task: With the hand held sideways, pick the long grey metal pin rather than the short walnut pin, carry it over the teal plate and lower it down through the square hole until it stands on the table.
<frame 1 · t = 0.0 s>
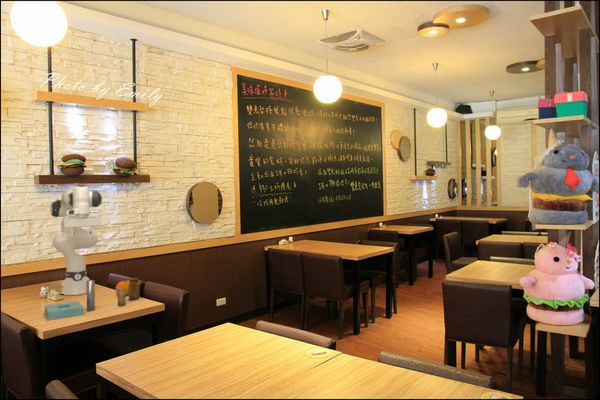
hand: (82, 234, 261), 39 cm above the table, tool pointing down, fingers open, 8 cm apart
long pin: (90, 310, 239), on the table
hole plate: (63, 314, 232), on the table
short pin: (121, 305, 249), on the table
condiment: (134, 299, 263), on the table
fruit: (125, 295, 275), on the table
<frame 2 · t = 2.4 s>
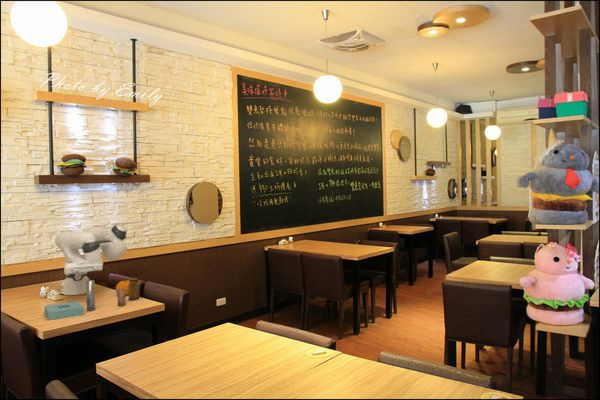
hand: (86, 270, 250), 20 cm above the table, tool horizontal, fingers open, 8 cm apart
nothing on the table moved.
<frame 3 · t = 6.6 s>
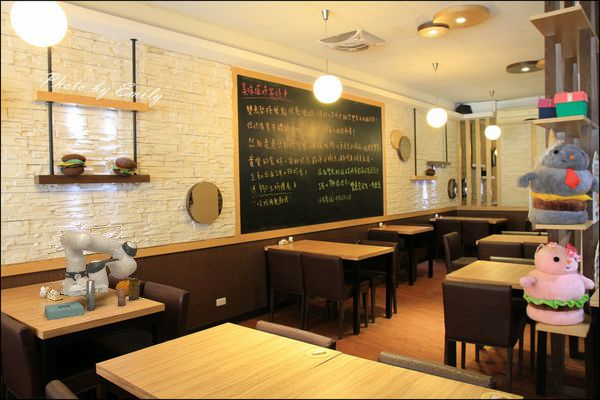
hand: (90, 292, 238), 10 cm above the table, tool horizontal, fingers closed on long pin, 4 cm apart
long pin: (90, 310, 239), on the table, touching gripper
everything else where it was.
when the fingers open (10 cm above the table, at t = 11.9 s): long pin stays where it is, resting in hole plate.
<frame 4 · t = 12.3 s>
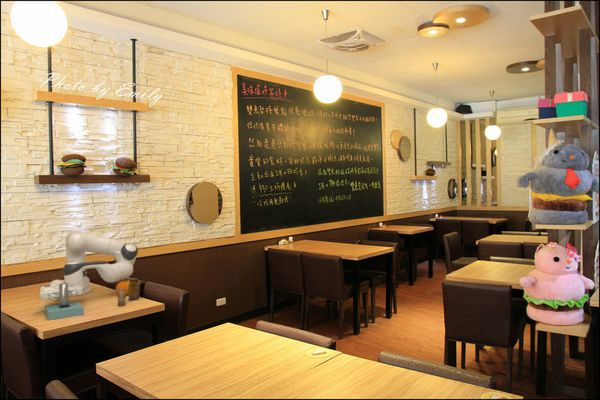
hand: (63, 295, 231), 10 cm above the table, tool horizontal, fingers open, 8 cm apart
long pin: (64, 314, 232), resting in hole plate
everything else where it was.
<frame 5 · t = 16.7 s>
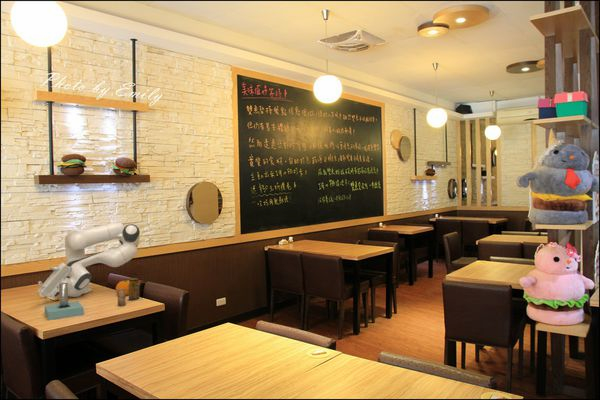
hand: (45, 275, 247), 18 cm above the table, tool pointing upward, fingers open, 8 cm apart
nothing on the table moved.
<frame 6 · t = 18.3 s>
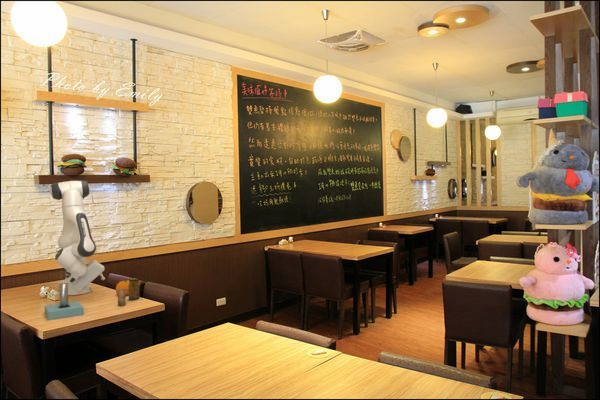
hand: (98, 284, 265), 8 cm above the table, tool tilted 45°, fingers open, 8 cm apart
nothing on the table moved.
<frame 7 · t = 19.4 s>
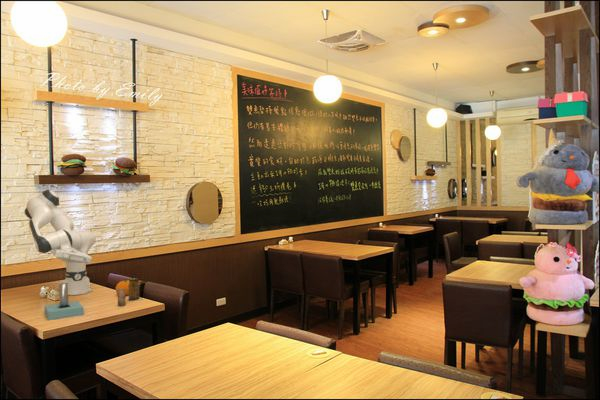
hand: (77, 258, 247), 27 cm above the table, tool horizontal, fingers open, 8 cm apart
nothing on the table moved.
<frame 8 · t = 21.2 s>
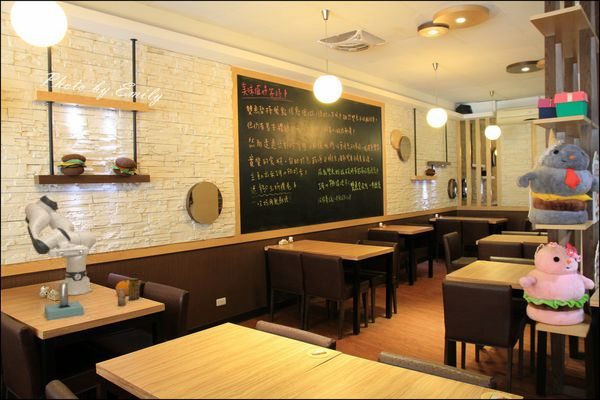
hand: (71, 253, 245), 30 cm above the table, tool horizontal, fingers open, 8 cm apart
nothing on the table moved.
at the end: long pin 0.0 cm off-centre on the hole plate, point 0.0 cm above the hole plate's base; long pin tilted 0°; short pin moved 0.0 cm from its start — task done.
